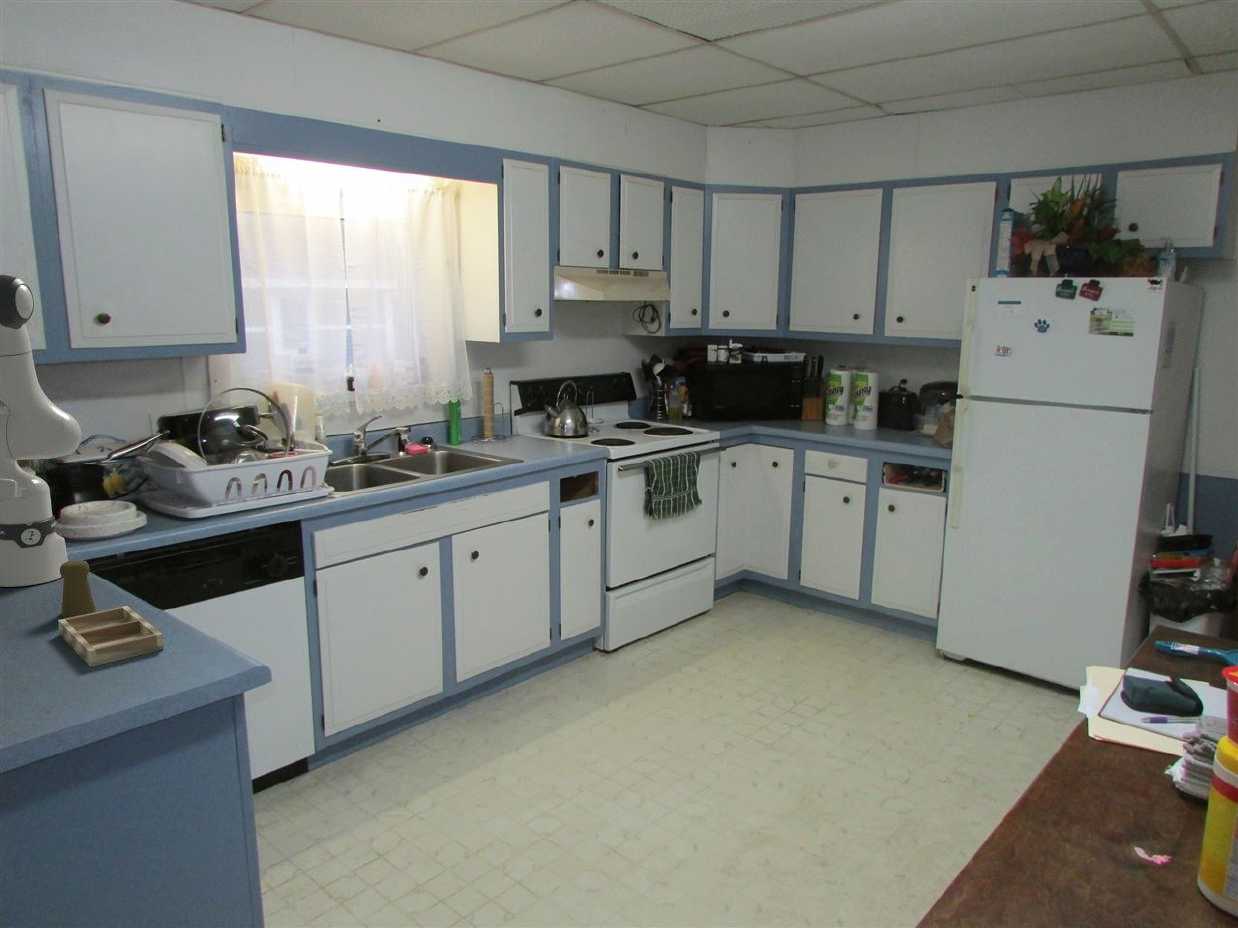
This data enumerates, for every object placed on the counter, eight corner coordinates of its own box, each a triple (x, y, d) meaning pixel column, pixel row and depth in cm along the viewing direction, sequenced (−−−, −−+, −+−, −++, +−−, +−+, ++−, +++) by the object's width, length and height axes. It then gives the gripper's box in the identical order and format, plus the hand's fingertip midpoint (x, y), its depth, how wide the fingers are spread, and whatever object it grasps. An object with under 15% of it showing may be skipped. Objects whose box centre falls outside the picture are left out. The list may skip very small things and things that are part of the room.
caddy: (59, 634, 164) (58, 619, 164) (128, 619, 173) (126, 605, 172) (90, 667, 150) (88, 651, 149) (163, 649, 158) (162, 633, 158)
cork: (58, 611, 176) (53, 560, 174) (91, 605, 180) (86, 555, 179) (65, 619, 172) (60, 567, 170) (99, 612, 176) (94, 561, 174)
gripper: (-36, 466, 149) (48, 475, 161) (-93, 476, 158) (-10, 483, 170) (-39, 502, 148) (45, 508, 160) (-97, 510, 157) (-13, 514, 169)
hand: (16, 495), depth 165 cm, fingers open, 8 cm apart
